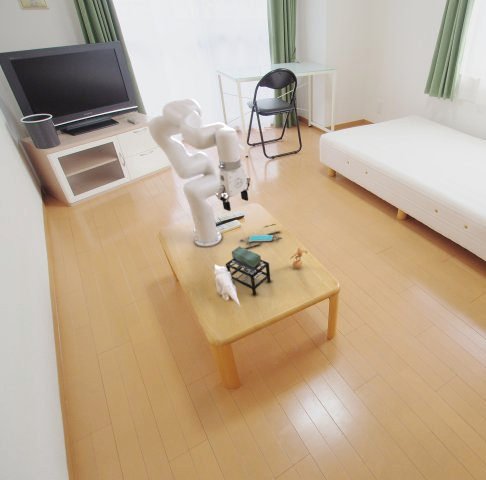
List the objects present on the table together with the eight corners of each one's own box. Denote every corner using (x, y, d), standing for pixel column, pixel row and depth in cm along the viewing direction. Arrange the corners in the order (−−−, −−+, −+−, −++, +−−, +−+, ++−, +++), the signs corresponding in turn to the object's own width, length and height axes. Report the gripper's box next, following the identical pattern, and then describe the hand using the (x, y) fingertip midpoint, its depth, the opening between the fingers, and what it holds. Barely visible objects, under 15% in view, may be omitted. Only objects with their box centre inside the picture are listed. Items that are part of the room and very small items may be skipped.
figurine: (303, 262, 151) (302, 240, 144) (310, 269, 147) (310, 247, 140) (286, 268, 148) (285, 246, 141) (293, 276, 144) (292, 253, 137)
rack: (229, 282, 140) (225, 263, 134) (245, 269, 147) (242, 251, 141) (254, 295, 134) (252, 276, 128) (270, 281, 141) (268, 262, 135)
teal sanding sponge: (261, 265, 134) (260, 255, 131) (253, 271, 130) (252, 261, 128) (241, 255, 138) (239, 246, 135) (233, 261, 135) (231, 251, 132)
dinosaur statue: (226, 276, 143) (222, 255, 136) (250, 311, 127) (247, 290, 120) (210, 282, 140) (205, 261, 133) (233, 319, 124) (228, 297, 117)
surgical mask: (277, 222, 170) (284, 232, 163) (277, 230, 173) (284, 239, 165) (237, 232, 162) (242, 243, 155) (238, 240, 165) (244, 250, 158)
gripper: (220, 174, 115) (227, 217, 125) (254, 158, 127) (258, 198, 137) (204, 169, 118) (213, 211, 128) (239, 154, 130) (244, 193, 140)
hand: (236, 204), depth 133 cm, fingers open, 9 cm apart
